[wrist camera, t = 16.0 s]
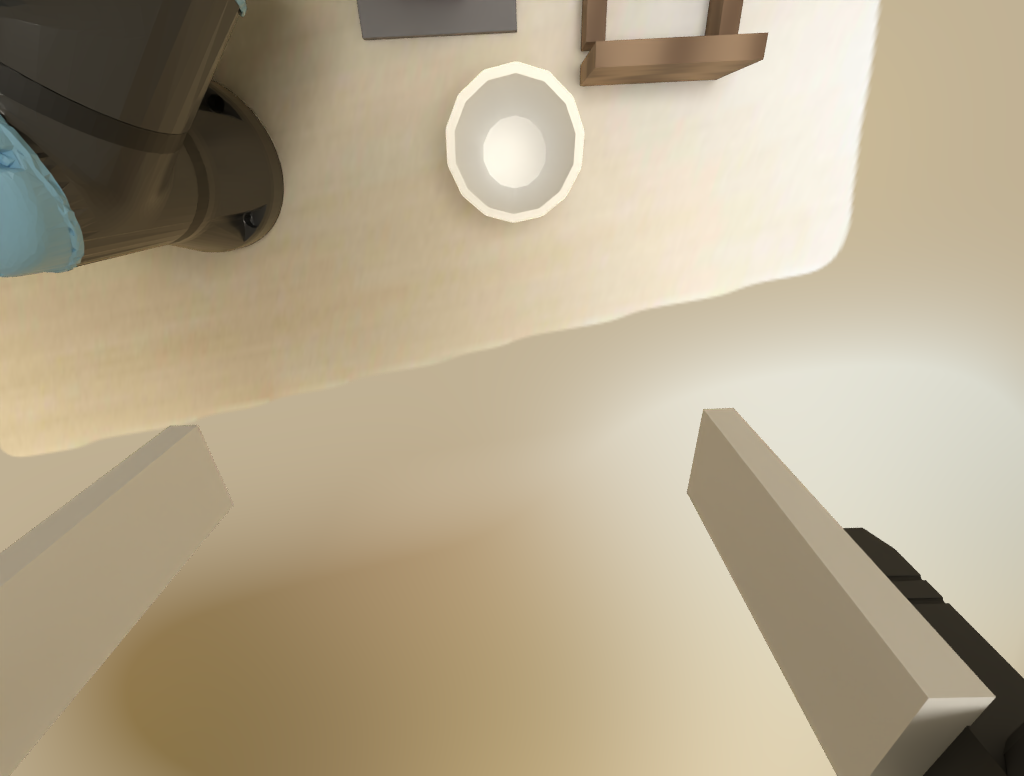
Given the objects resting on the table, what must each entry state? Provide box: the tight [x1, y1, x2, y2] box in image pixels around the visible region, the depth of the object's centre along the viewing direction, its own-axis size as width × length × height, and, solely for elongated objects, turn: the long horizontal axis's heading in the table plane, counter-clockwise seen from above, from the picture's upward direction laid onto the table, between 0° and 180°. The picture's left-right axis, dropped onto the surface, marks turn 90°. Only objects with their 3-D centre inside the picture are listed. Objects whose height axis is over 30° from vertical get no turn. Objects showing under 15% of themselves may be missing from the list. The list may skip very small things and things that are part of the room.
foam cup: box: [446, 61, 585, 223], centre depth 34 cm, size 10×9×13 cm
